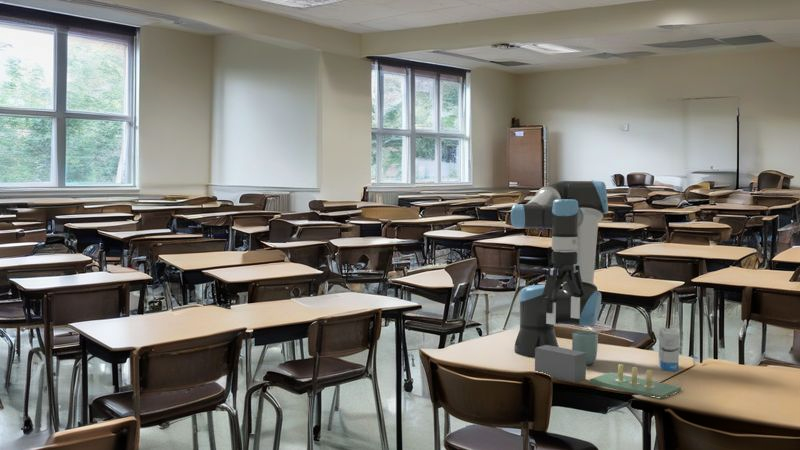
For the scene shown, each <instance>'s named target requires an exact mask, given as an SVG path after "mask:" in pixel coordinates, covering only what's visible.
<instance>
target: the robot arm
mask: <svg viewBox="0 0 800 450" xmlns="http://www.w3.org/2000/svg"><path fill="white" fill-rule="evenodd" d="M608 213H609V203H608V194H607V185H606V184H605V182H604V181H601V180H599V181H598V180H559V181H555V182H552V183H549V184H546V185H544V186H542V187H541V188H540V189H538V190H537V191H536V193H535V195H534V197H533V198H532V199H531V200H529V201H528V202H526V204H522V203H519V204H513V206H512V207H511V211H510V223H511V225H512V226H513V228H517V229H547V230H548V229H551V230H552V232H551V234H552V235H551V250H552V252H551V263H552V264H553V265H554V268H552V267H548V269H547V278H546V281H545V284H544V283H543V284H535V285H529V286H525V287H523V288H522V289H521V291H520V296H519V331H518V334H517V337H516V339H515V343H514V352H515V353H516V354H518V353H519V354H518V355H521V354H522V355H523V356H527V357H534V358H535V348H536V347H540V346H544V345H550V346H555V347H560V346H559V343H558V339H557V337H556V333H555V325H556V324H560V325H567V326H568V325H570V326H579V327H582V326H586V327H587V326H588V327H589V326H590V327H592V326H594V325H595V324H596V323H597V321H598V318H599V315H600V311H601V306H602V305H601V304H602V293H601V292H600V291H599V290H598V286H597V285H596V284H595V283H594V278H595V266H596V255H597V254H596V253H597V239H598V229H599V228H598V227H599V222H601V221H602V220H603V218H604V215H605V214H606V215H607V214H608ZM561 287H562V288H561Z"/></svg>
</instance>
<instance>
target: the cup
mask: <svg viewBox="0 0 800 450" xmlns="http://www.w3.org/2000/svg"><path fill="white" fill-rule="evenodd" d="M598 338H599V335H598V333H597V332H595V331H590V330H589V331H588V330H576V331H573V332H572V342H571V344H572V345H571V347H572V349H571V350H576V351H581V352H586V366H590V365H593V364H594V363H595V361H596V360H597V355H598V348H599V347H598V345H599V343H598V342H599V341H598V340H599V339H598Z"/></svg>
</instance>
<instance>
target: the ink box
mask: <svg viewBox="0 0 800 450" xmlns="http://www.w3.org/2000/svg"><path fill="white" fill-rule="evenodd" d="M658 335H659V337H658V362H657V363H658V364H657V365H659V367H660V369H661V370H662V371H665V372H666V371H670V372H671V371H673V372H679V360H680V359H679V355H680V352H679V351H680V334H679V333H678V332H677V331H676V329H674V328H672V329H671V328H659V332H658Z"/></svg>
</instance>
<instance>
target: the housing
mask: <svg viewBox="0 0 800 450" xmlns="http://www.w3.org/2000/svg"><path fill="white" fill-rule="evenodd" d="M535 371H538V372H543V373H546V374H548V375H550V376H551V377H550V378H551V379H552V378H553V379H555V380H561V381H565V382H570V383H572V384H573V383H575V384H576V383H578V382H581V381H584V380H586V377H587V374H586V372H587V365H586V352H581V351H576V350H572V349H570V348H565V347H560V346H559V347H555V346H550V345H544V346H540V347H536V348H535V357H534V372H535Z"/></svg>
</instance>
